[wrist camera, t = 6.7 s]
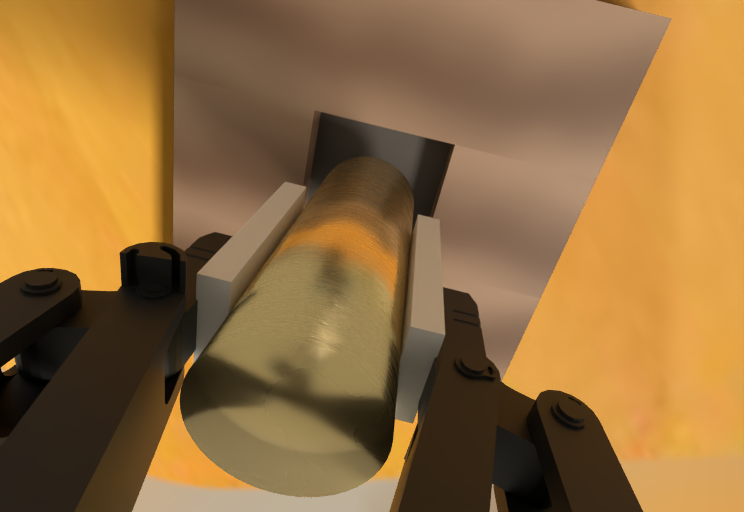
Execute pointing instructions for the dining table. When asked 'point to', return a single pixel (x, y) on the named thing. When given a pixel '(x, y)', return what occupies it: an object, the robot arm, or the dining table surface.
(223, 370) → the pin
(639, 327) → the dining table surface
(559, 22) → the board
